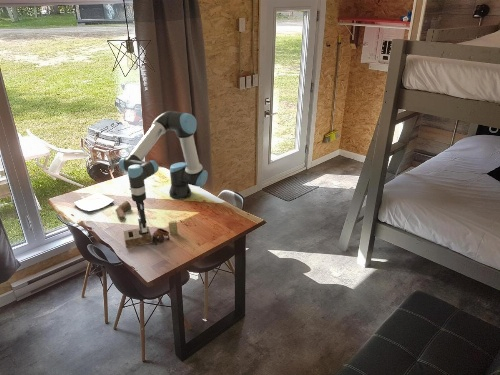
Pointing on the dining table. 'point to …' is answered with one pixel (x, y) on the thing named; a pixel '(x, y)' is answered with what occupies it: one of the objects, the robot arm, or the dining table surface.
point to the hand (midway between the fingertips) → (143, 225)
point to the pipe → (123, 210)
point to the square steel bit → (140, 226)
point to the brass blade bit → (173, 227)
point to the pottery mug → (159, 233)
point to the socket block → (137, 237)
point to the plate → (94, 202)
